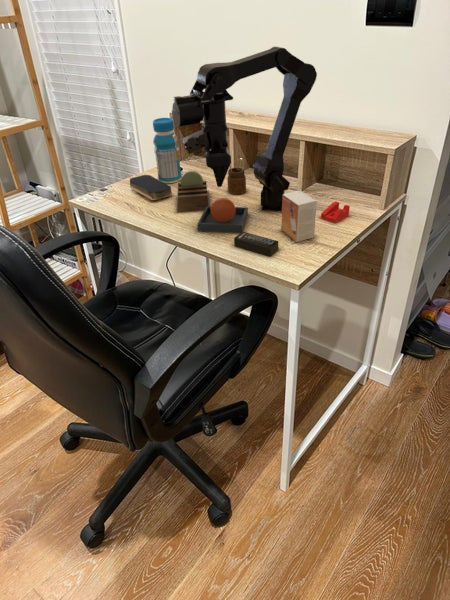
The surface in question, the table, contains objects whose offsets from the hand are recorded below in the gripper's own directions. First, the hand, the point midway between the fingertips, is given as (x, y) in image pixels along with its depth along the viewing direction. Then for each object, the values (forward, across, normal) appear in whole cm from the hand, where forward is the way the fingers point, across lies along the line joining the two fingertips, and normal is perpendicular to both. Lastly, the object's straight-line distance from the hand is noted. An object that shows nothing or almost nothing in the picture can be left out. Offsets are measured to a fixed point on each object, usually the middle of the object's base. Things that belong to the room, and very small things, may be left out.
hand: (218, 180), depth 123 cm
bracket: (+12, +4, +32) cm, 35 cm away
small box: (+12, +12, +20) cm, 26 cm away
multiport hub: (+12, +18, +8) cm, 23 cm away
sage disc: (+7, -17, -8) cm, 20 cm away
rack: (+12, -14, -8) cm, 20 cm away
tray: (+12, +2, +1) cm, 12 cm away
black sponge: (+12, -24, -22) cm, 35 cm away
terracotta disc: (+8, +2, +1) cm, 8 cm away
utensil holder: (+12, -20, +6) cm, 24 cm away
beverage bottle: (+12, -35, -16) cm, 40 cm away
